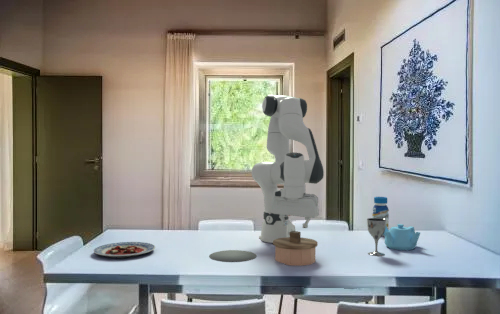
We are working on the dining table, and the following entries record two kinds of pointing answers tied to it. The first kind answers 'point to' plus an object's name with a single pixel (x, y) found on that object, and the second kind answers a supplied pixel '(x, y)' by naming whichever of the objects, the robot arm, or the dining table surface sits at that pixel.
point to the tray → (233, 256)
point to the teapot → (401, 237)
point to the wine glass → (376, 232)
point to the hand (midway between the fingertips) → (294, 226)
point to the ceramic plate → (124, 249)
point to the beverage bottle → (381, 209)
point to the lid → (295, 242)
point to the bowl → (295, 256)
